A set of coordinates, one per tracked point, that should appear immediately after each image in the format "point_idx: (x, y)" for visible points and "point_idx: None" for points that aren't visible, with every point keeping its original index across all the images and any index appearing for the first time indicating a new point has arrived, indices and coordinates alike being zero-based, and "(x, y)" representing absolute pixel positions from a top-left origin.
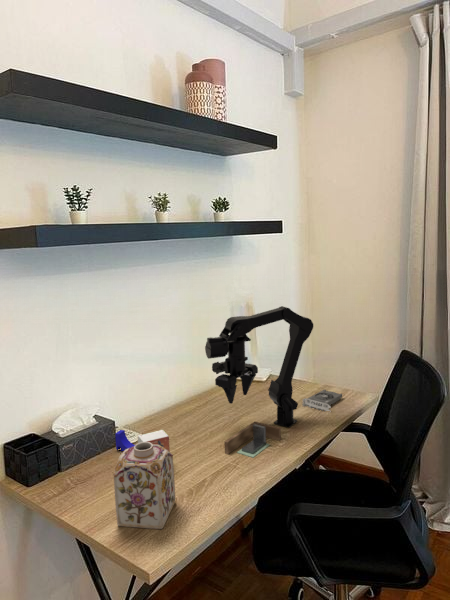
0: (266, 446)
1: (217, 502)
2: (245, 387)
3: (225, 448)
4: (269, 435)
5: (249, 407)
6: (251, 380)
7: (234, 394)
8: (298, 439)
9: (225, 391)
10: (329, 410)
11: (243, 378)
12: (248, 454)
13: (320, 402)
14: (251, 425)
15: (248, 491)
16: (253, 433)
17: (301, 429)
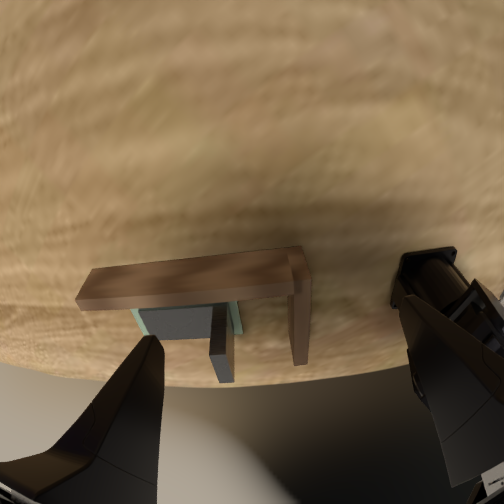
0: None
1: (21, 353)
2: (431, 368)
3: (86, 283)
4: (289, 314)
5: (495, 83)
6: (447, 452)
7: (152, 446)
8: (325, 355)
9: (74, 436)
10: None
11: (488, 429)
12: (143, 326)
13: None
14: (260, 294)
15: (72, 374)
16: (211, 327)
17: (390, 329)
